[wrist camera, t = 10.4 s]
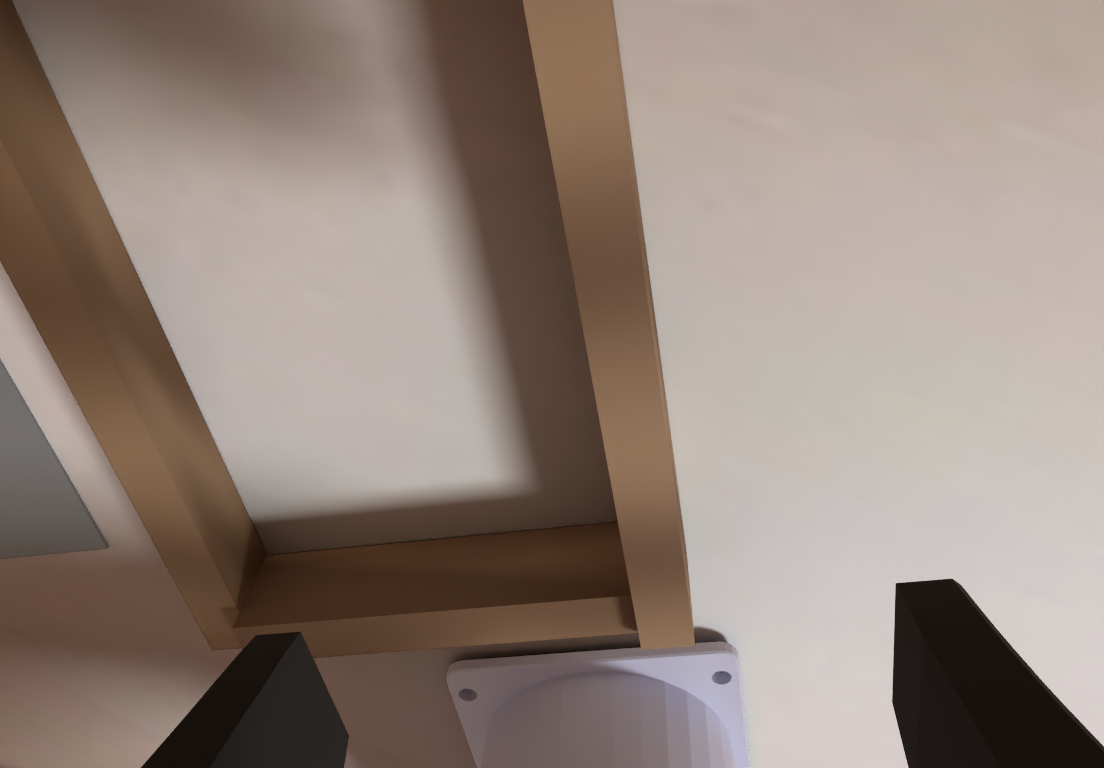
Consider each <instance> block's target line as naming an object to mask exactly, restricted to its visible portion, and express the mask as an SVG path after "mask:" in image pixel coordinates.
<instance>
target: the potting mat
mask: <svg viewBox="0 0 1104 768" xmlns="http://www.w3.org/2000/svg"><path fill="white" fill-rule="evenodd" d="M108 546H109V545H108V544H107V542H106V540H105V539H104V537H103V535H102V533H101V532H100V530H99V528H98V526H97V525H96V523H95V521H94V520H93V518H92V516H91V514H90V513H89V511H88V509H87V507H86V506H85V504H84V502H83V501H82V499H81V497H80V495H79V494H78V492H77V490H76V488H75V487H74V485H73V483H72V482H71V480H70V478H69V476H68V475H67V473H66V471H65V469H64V468H63V466H62V464H61V463H60V461H59V459H58V457H57V456H56V454H55V452H54V451H53V449H52V447H51V445H50V444H49V442H48V440H47V438H46V437H45V435H44V433H43V432H42V430H41V428H40V426H39V425H38V423H37V421H36V419H35V418H34V416H33V414H32V413H31V411H30V409H29V407H28V406H27V404H26V402H25V400H24V399H23V397H22V395H21V394H20V392H19V390H18V388H17V387H16V385H15V383H14V382H13V380H12V378H11V376H10V375H9V373H8V371H7V369H6V368H5V366H4V364H3V363H2V361H1V359H0V559H5V558H15V557H25V556H35V555H46V554H56V553H66V552H76V551H86V550H96V549H106V548H108Z"/></svg>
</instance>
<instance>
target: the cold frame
mask: <svg viewBox="0 0 1104 768" xmlns="http://www.w3.org/2000/svg"><path fill="white" fill-rule="evenodd" d="M523 6H524V11H525V17H526V22H527V28H528V33H529V38H530V44H531V49H532V55H533V60H534V66H535V71H536V77H537V82H538V88H539V93H540V99H541V104H542V110H543V115H544V121H545V126H546V131H547V137H548V142H549V148H550V153H551V159H552V164H553V170H554V175H555V181H556V186H557V192H558V197H559V203H560V208H561V214H562V219H563V224H564V230H565V235H566V241H567V246H568V252H569V257H570V263H571V268H572V274H573V279H574V285H575V290H576V296H577V301H578V307H579V312H580V317H581V323H582V328H583V334H584V339H585V345H586V350H587V356H588V361H589V367H590V372H591V378H592V383H593V389H594V394H595V399H596V405H597V410H598V416H599V421H600V427H601V432H602V438H603V443H604V449H605V454H606V460H607V465H608V471H609V476H610V482H611V487H612V492H613V498H614V503H615V509H616V514H617V520H618V522H615V523H604V524H594V525H583V526H573V527H562V528H551V529H541V530H530V531H520V532H509V533H499V534H488V535H478V536H467V537H457V538H446V539H436V540H425V541H414V542H404V543H393V544H383V545H372V546H362V547H351V548H341V549H330V550H320V551H309V552H298V553H288V554H277V555H267V554H266V552H265V550H264V548H263V546H262V543H261V541H260V539H259V537H258V535H257V533H256V530H255V528H254V526H253V524H252V522H251V520H250V517H249V515H248V513H247V511H246V509H245V507H244V504H243V502H242V500H241V498H240V496H239V494H238V491H237V489H236V487H235V485H234V483H233V481H232V478H231V476H230V474H229V472H228V470H227V467H226V465H225V463H224V461H223V459H222V457H221V454H220V452H219V450H218V448H217V446H216V444H215V441H214V439H213V437H212V435H211V433H210V431H209V428H208V426H207V424H206V422H205V420H204V418H203V415H202V413H201V411H200V409H199V407H198V405H197V402H196V400H195V398H194V396H193V394H192V392H191V389H190V387H189V385H188V383H187V381H186V378H185V376H184V374H183V372H182V370H181V368H180V365H179V363H178V361H177V359H176V357H175V355H174V352H173V350H172V348H171V346H170V344H169V342H168V339H167V337H166V335H165V333H164V331H163V329H162V326H161V324H160V322H159V320H158V318H157V316H156V313H155V311H154V309H153V307H152V305H151V303H150V300H149V298H148V296H147V294H146V292H145V290H144V287H143V285H142V283H141V281H140V279H139V276H138V274H137V272H136V270H135V268H134V266H133V263H132V261H131V259H130V257H129V255H128V253H127V250H126V248H125V246H124V244H123V242H122V240H121V237H120V235H119V233H118V231H117V229H116V227H115V224H114V222H113V220H112V218H111V216H110V214H109V211H108V209H107V207H106V205H105V203H104V201H103V198H102V196H101V194H100V192H99V190H98V188H97V185H96V183H95V181H94V179H93V177H92V174H91V172H90V170H89V168H88V166H87V164H86V161H85V159H84V157H83V155H82V153H81V151H80V148H79V146H78V144H77V142H76V140H75V138H74V135H73V133H72V131H71V129H70V127H69V125H68V122H67V120H66V118H65V116H64V114H63V112H62V109H61V107H60V105H59V103H58V101H57V99H56V96H55V94H54V92H53V90H52V88H51V85H50V83H49V81H48V79H47V77H46V75H45V72H44V70H43V68H42V66H41V64H40V62H39V59H38V57H37V55H36V53H35V51H34V49H33V46H32V44H31V42H30V40H29V38H28V36H27V33H26V31H25V29H24V27H23V25H22V23H21V20H20V18H19V16H18V14H17V12H16V10H15V7H14V5H13V3H12V1H11V0H0V261H1V263H2V265H3V267H4V268H5V270H6V272H7V274H8V276H9V278H10V279H11V281H12V283H13V285H14V287H15V289H16V290H17V292H18V294H19V296H20V298H21V300H22V302H23V303H24V305H25V307H26V309H27V311H28V313H29V314H30V316H31V318H32V320H33V322H34V324H35V325H36V327H37V329H38V331H39V333H40V335H41V336H42V338H43V340H44V342H45V344H46V346H47V348H48V349H49V351H50V353H51V355H52V357H53V359H54V360H55V362H56V364H57V366H58V368H59V370H60V371H61V373H62V375H63V377H64V379H65V381H66V382H67V384H68V386H69V388H70V390H71V392H72V393H73V395H74V397H75V399H76V401H77V403H78V405H79V406H80V408H81V410H82V412H83V414H84V416H85V417H86V419H87V421H88V423H89V425H90V427H91V428H92V430H93V432H94V434H95V436H96V438H97V439H98V441H99V443H100V445H101V447H102V449H103V451H104V452H105V454H106V456H107V458H108V460H109V462H110V463H111V465H112V467H113V469H114V471H115V473H116V474H117V476H118V478H119V480H120V482H121V484H122V485H123V487H124V489H125V491H126V493H127V495H128V496H129V498H130V500H131V502H132V504H133V506H134V508H135V509H136V511H137V513H138V515H139V517H140V519H141V520H142V522H143V524H144V526H145V528H146V530H147V531H148V533H149V535H150V537H151V539H152V541H153V542H154V544H155V546H156V548H157V550H158V552H159V554H160V555H161V557H162V559H163V561H164V563H165V565H166V566H167V568H168V570H169V572H170V574H171V576H172V577H173V579H174V581H175V583H176V585H177V587H178V588H179V590H180V592H181V594H182V596H183V598H184V600H185V601H186V603H187V605H188V607H189V609H190V611H191V612H192V614H193V616H194V618H195V620H196V622H197V623H198V625H199V627H200V629H201V631H202V633H203V634H204V636H205V638H206V640H207V642H208V644H209V645H210V647H211V649H212V650H221V649H234V648H242V649H244V648H245V647H246V645H247V644H248V643H249V642H250V641H251V640H252V639H253V638H254V637H255V635H264V634H277V633H289V632H301V633H302V635H303V638H304V640H305V642H306V644H307V646H308V648H309V651H310V653H311V655H312V657H313V658H317V657H331V656H344V655H357V654H370V653H383V652H396V651H409V650H422V649H436V648H449V647H462V646H475V645H488V644H501V643H514V642H528V641H541V640H554V639H567V638H580V637H593V636H606V635H619V634H633V633H638V635H639V640H640V646H641V650H648V649H662V648H675V647H689V646H695V639H694V628H693V617H692V606H691V596H690V585H689V574H688V564H687V553H686V545H685V538H684V530H683V523H682V515H681V508H680V500H679V493H678V486H677V478H676V471H675V463H674V456H673V448H672V441H671V433H670V426H669V418H668V411H667V403H666V396H665V388H664V381H663V374H662V366H661V359H660V351H659V344H658V336H657V329H656V321H655V314H654V306H653V299H652V291H651V284H650V276H649V269H648V262H647V254H646V247H645V239H644V232H643V224H642V217H641V209H640V202H639V194H638V187H637V179H636V172H635V164H634V157H633V149H632V142H631V135H630V127H629V120H628V112H627V105H626V97H625V90H624V82H623V75H622V67H621V60H620V52H619V45H618V37H617V30H616V23H615V15H614V8H613V0H523Z"/></svg>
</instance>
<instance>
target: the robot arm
mask: <svg viewBox="0 0 1104 768" xmlns="http://www.w3.org/2000/svg"><path fill="white" fill-rule="evenodd" d="M719 671H725V672H721V673H720V672H719ZM446 682H447V685H448V688H449V691H450V694H451V697H452V699H453V702H454V705H455V708H456V711H457V713H458V716H459V719H460V722H461V725H462V728H463V730H464V733H465V736H466V739H467V742H468V744H469V747H470V750H471V753H472V756H473V758H474V761H475V764H476V767H477V768H750V765H749V755H748V745H747V735H746V725H745V715H744V706H743V696H742V686H741V676H740V666H739V658H738V653H737V650H736V648H735V647H734V646H732V645H731V644H728V643H726V642H705V643H695V646H689V647H675V648H662V649H648V650H641V647H637V648H624V649H610V650H597V651H583V652H570V653H556V654H543V655H529V656H515V657H502V658H488V659H475V660H462V661H457V662H454V663H453V664H451V665H450V667H449V668H448V672H447V677H446ZM892 702H893V707H894V711H895V715H896V719H897V723H898V727H899V731H900V735H901V739H902V743H903V747H904V751H905V755H906V759H907V763H908V767H909V768H1104V746H1103V745H1102V744H1101V743H1100V742H1099V741H1098V740H1097V739H1096V738H1095V737H1094V736H1093V735H1092V734H1091V733H1090V732H1089V731H1088V730H1087V729H1086V728H1085V726H1084V725H1083V724H1082V723H1081V722H1080V721H1079V720H1078V719H1077V718H1076V717H1075V716H1074V715H1073V714H1072V713H1071V712H1070V711H1069V710H1068V709H1067V708H1066V707H1065V706H1064V704H1063V703H1062V702H1061V701H1060V700H1059V699H1058V698H1057V697H1056V696H1055V695H1054V694H1053V693H1052V691H1051V690H1050V689H1049V688H1048V687H1047V686H1046V685H1045V684H1044V683H1043V682H1042V680H1041V679H1040V678H1039V677H1038V676H1037V675H1036V674H1035V673H1034V671H1033V670H1032V669H1031V668H1030V667H1029V666H1028V665H1027V663H1026V662H1025V661H1024V660H1023V659H1022V658H1021V657H1020V656H1019V654H1018V653H1017V652H1016V651H1015V650H1014V649H1013V648H1012V646H1011V645H1010V644H1009V643H1008V642H1007V641H1006V639H1005V638H1004V637H1003V636H1002V635H1001V633H1000V632H999V631H998V630H997V629H996V628H995V626H994V625H993V624H992V623H991V622H990V620H989V619H988V618H987V617H986V616H985V614H984V613H983V612H982V611H981V609H980V608H979V607H978V606H977V604H976V603H975V602H974V601H973V600H972V598H971V597H970V596H969V594H968V593H967V592H966V591H965V589H964V588H963V587H962V586H961V585H960V584H959V583H957V582H956V581H954V580H953V579H944V580H932V581H919V582H907V583H896V597H895V631H894V665H893V699H892ZM348 738H349V735H348V733H347V731H346V729H345V726H344V724H343V722H342V720H341V718H340V716H339V713H338V711H337V709H336V707H335V705H334V703H333V700H332V698H331V696H330V694H329V692H328V690H327V687H326V685H325V683H324V681H323V679H322V677H321V674H320V672H319V670H318V668H317V666H316V664H315V661H314V659H313V657H312V655H311V653H310V651H309V648H308V646H307V644H306V642H305V640H304V638H303V635H302V633H301V632H289V633H277V634H264V635H255V637H254V638H253V639H252V640H251V641H250V642H249V643H248V644H247V645H246V647H245V648H244V649H243V650H242V651H241V652H240V653H239V655H238V656H237V657H236V658H235V659H234V660H233V661H232V663H231V664H230V665H229V666H228V667H227V668H226V670H225V671H224V672H223V673H222V674H221V675H220V677H219V678H218V679H217V680H216V681H215V682H214V684H213V685H212V686H211V687H210V688H209V690H208V691H207V692H206V693H205V694H204V695H203V697H202V698H201V699H200V700H199V701H198V703H197V704H196V705H195V706H194V707H193V708H192V710H191V711H190V712H189V713H188V714H187V715H186V717H185V718H184V719H183V720H182V721H181V722H180V724H179V725H178V726H177V727H176V728H175V729H174V731H173V732H172V733H171V734H170V735H169V736H168V737H167V739H166V740H165V741H164V742H163V743H162V744H161V745H160V747H159V748H158V749H157V750H156V751H155V752H154V753H153V755H152V756H151V757H150V758H149V759H148V760H147V761H146V763H145V764H144V765H143V766H142V767H141V768H344V763H345V757H346V751H347V744H348Z"/></svg>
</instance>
